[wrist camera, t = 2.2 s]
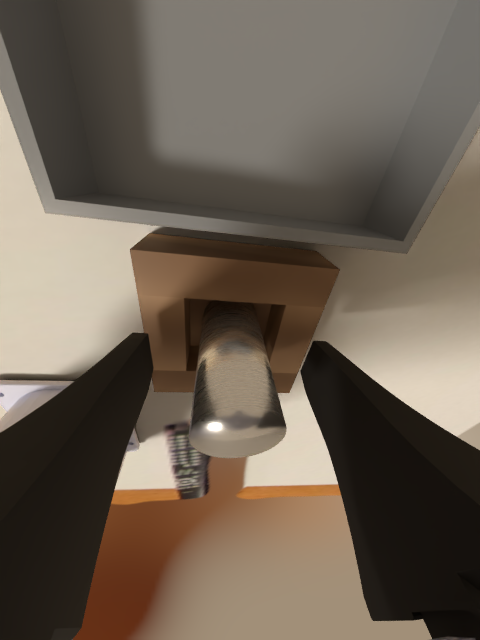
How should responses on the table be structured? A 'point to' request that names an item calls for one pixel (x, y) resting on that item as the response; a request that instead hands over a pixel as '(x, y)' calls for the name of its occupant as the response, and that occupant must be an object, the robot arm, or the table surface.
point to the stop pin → (234, 386)
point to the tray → (245, 112)
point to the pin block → (227, 285)
